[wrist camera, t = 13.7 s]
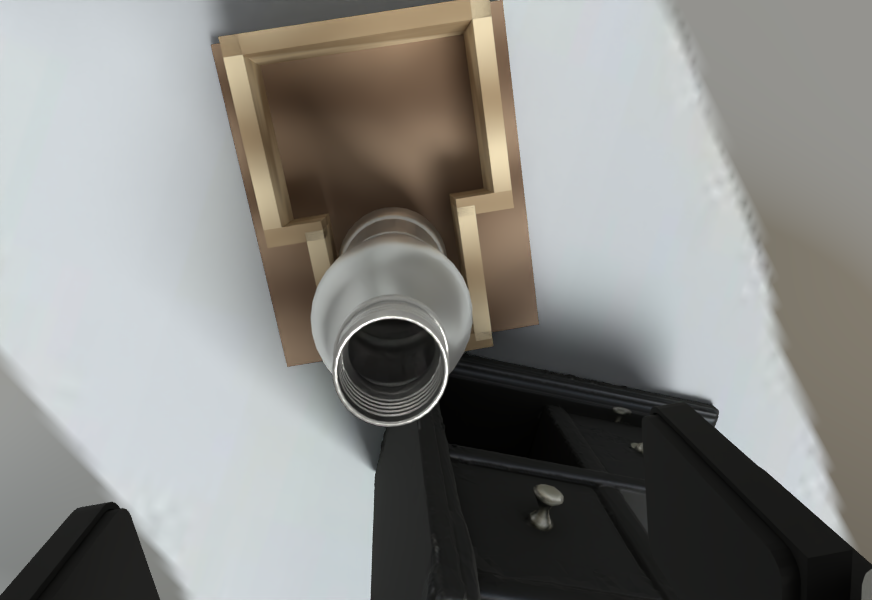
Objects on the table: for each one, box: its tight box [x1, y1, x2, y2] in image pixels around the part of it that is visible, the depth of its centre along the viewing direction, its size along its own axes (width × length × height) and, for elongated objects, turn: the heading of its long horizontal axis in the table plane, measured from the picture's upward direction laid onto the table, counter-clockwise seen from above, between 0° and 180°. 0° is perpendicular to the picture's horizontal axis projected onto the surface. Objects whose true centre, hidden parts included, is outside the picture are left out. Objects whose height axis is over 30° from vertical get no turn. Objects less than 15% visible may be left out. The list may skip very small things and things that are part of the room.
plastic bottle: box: [311, 207, 473, 427], centre depth 27 cm, size 6×7×20 cm
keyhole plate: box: [211, 0, 539, 367], centre depth 34 cm, size 20×17×5 cm
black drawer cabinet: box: [371, 354, 719, 600], centre depth 31 cm, size 23×11×24 cm, turn 76°
